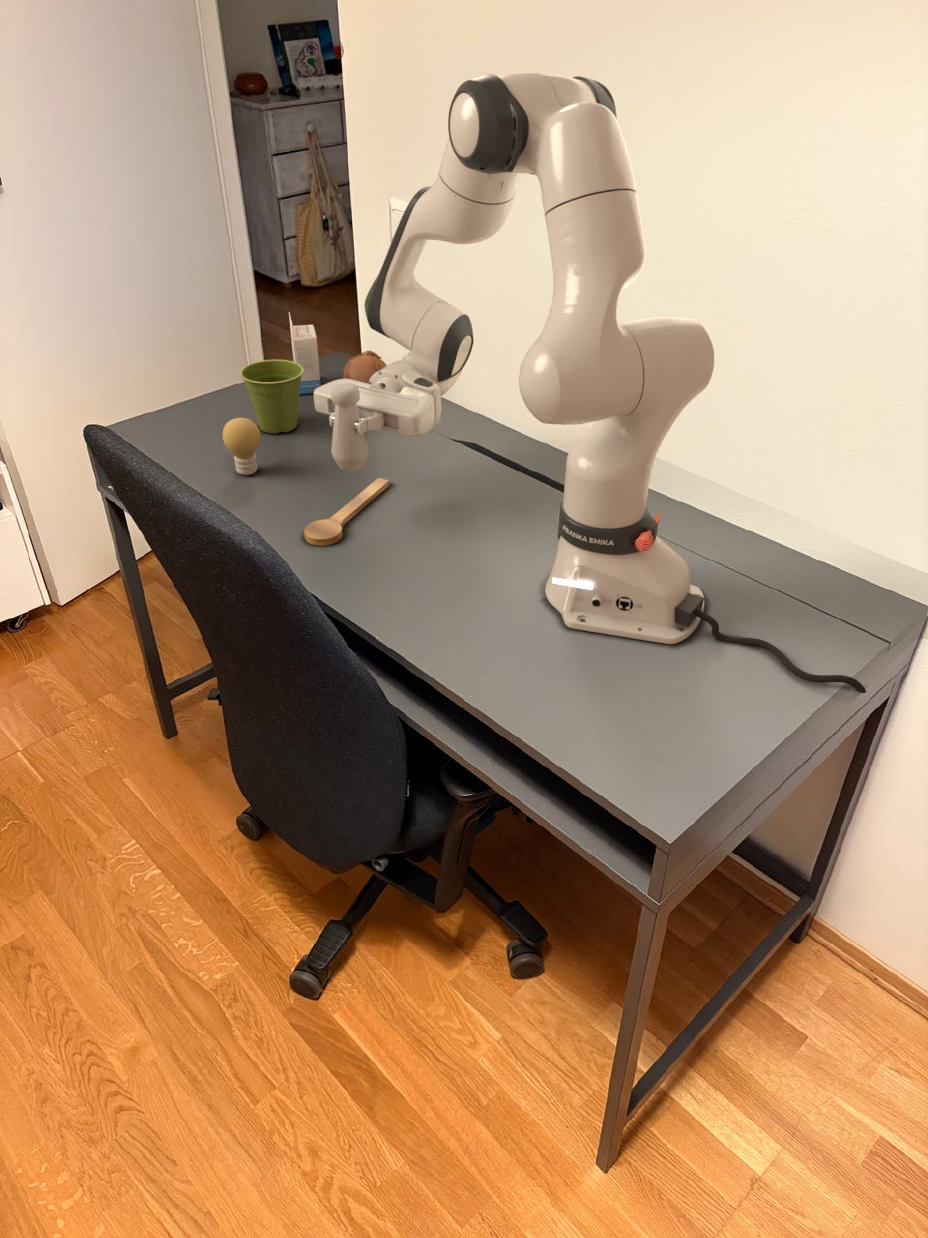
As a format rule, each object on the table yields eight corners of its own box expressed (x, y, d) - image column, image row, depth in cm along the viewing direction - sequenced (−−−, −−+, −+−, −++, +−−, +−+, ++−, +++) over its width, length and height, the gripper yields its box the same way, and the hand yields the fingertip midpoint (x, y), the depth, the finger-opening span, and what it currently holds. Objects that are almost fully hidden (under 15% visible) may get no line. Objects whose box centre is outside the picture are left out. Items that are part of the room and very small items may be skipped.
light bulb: (268, 476, 160) (261, 424, 154) (232, 483, 159) (223, 429, 153) (261, 461, 165) (254, 409, 159) (226, 467, 163) (217, 415, 157)
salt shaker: (363, 475, 141) (357, 395, 133) (328, 471, 142) (319, 392, 134) (374, 458, 145) (368, 379, 137) (339, 455, 146) (332, 377, 138)
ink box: (322, 392, 190) (315, 322, 181) (298, 395, 189) (290, 324, 180) (318, 377, 196) (311, 308, 188) (295, 379, 196) (287, 310, 187)
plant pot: (304, 440, 172) (298, 383, 165) (242, 439, 172) (233, 382, 166) (314, 413, 182) (308, 358, 175) (254, 413, 182) (246, 358, 175)
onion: (371, 402, 193) (377, 353, 191) (395, 404, 186) (401, 354, 184) (332, 396, 187) (337, 346, 185) (355, 398, 180) (361, 346, 178)
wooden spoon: (369, 480, 159) (368, 474, 159) (399, 487, 157) (398, 481, 157) (297, 540, 144) (296, 533, 143) (329, 549, 142) (328, 542, 141)
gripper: (341, 362, 150) (288, 392, 141) (448, 387, 142) (398, 420, 132) (345, 399, 154) (293, 429, 145) (448, 424, 146) (400, 459, 136)
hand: (344, 425), depth 138 cm, fingers closed on salt shaker, 3 cm apart
